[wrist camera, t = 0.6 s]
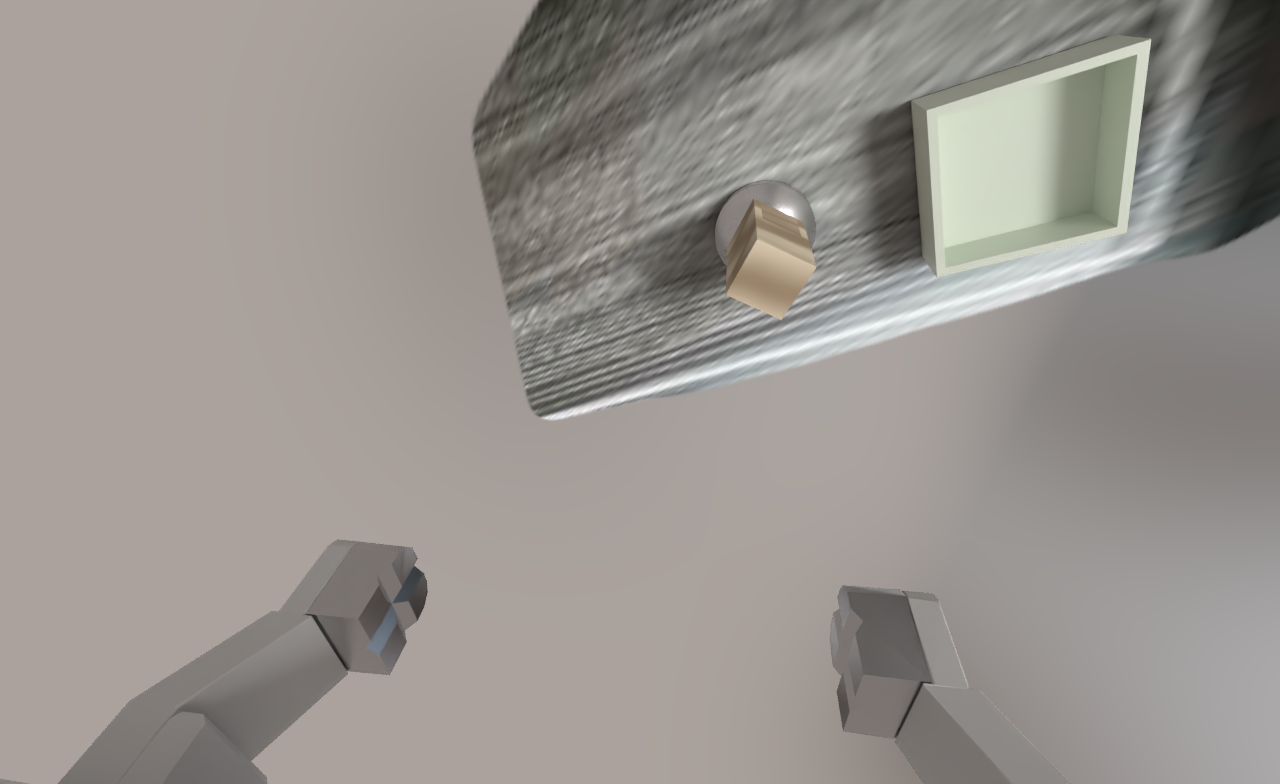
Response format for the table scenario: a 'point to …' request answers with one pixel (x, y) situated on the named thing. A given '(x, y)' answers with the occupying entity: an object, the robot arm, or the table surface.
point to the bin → (1030, 155)
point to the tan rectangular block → (768, 260)
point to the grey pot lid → (770, 194)
